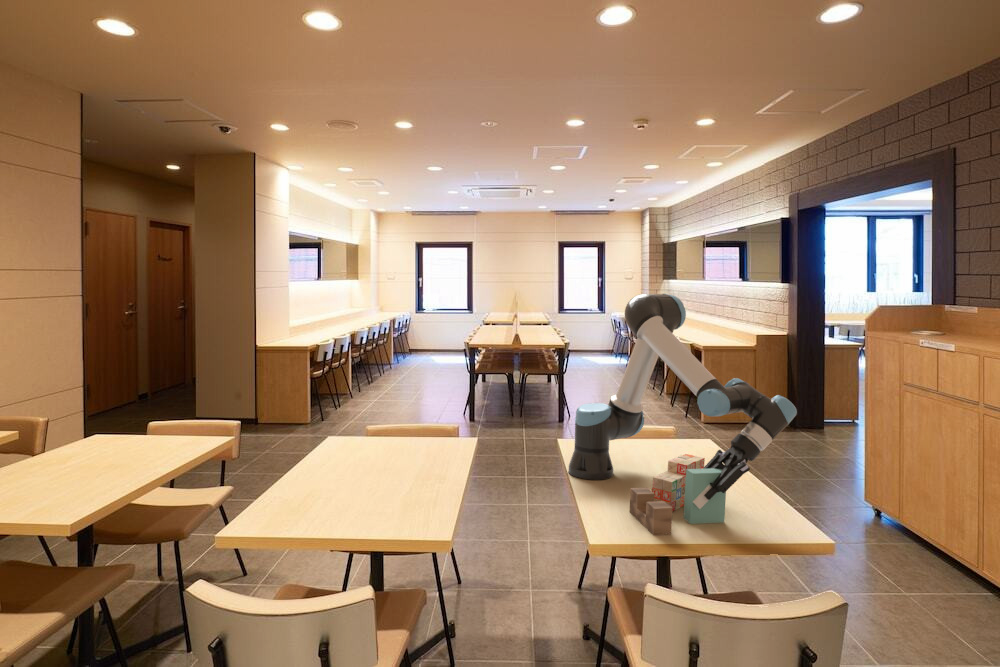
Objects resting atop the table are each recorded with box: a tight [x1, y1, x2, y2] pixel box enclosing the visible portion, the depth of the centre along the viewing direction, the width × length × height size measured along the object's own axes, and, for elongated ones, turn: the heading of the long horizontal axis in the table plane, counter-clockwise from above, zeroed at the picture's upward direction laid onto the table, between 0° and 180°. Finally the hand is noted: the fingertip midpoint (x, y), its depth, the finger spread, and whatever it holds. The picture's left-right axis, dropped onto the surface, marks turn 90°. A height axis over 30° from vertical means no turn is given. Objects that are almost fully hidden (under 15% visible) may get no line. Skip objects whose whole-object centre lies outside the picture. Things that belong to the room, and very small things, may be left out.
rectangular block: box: [683, 468, 727, 525], centre depth 170 cm, size 4×10×14 cm, turn 100°
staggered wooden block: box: [629, 487, 673, 536], centre depth 167 cm, size 16×5×7 cm, turn 10°
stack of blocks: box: [651, 453, 705, 512], centre depth 184 cm, size 21×6×12 cm, turn 137°
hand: (692, 502), depth 169 cm, fingers closed on rectangular block, 4 cm apart
